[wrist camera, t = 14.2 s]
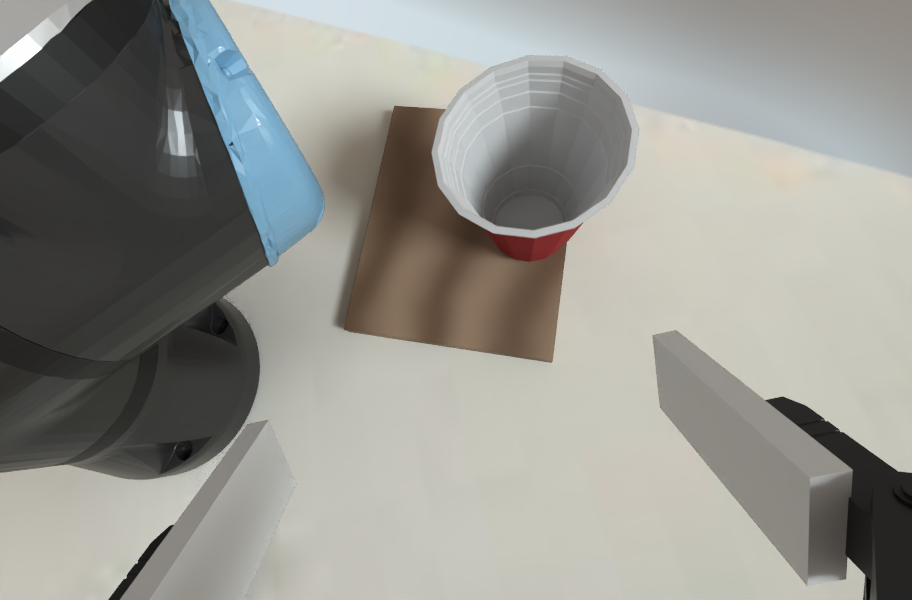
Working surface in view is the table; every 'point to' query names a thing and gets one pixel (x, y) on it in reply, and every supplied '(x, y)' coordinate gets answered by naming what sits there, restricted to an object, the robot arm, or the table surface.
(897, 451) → the table surface
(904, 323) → the table surface
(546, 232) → the plastic cup
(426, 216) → the walnut board
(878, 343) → the table surface
